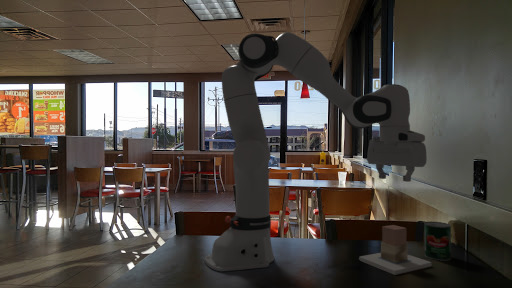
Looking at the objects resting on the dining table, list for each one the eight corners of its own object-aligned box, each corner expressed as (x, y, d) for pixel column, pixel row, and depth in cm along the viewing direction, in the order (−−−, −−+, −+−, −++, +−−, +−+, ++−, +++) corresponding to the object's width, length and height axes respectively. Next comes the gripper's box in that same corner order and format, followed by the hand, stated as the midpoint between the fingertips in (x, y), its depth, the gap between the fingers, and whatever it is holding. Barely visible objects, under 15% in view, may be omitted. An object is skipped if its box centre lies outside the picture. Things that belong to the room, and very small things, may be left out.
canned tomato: (443, 253, 117) (443, 221, 117) (456, 261, 109) (456, 226, 109) (419, 253, 117) (419, 221, 117) (431, 260, 109) (431, 226, 109)
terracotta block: (395, 246, 103) (395, 229, 103) (382, 242, 108) (382, 226, 108) (406, 244, 106) (406, 228, 106) (393, 240, 110) (393, 224, 110)
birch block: (395, 263, 103) (395, 246, 103) (380, 257, 108) (380, 242, 108) (407, 260, 105) (407, 244, 105) (393, 255, 110) (393, 239, 110)
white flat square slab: (394, 275, 97) (394, 270, 97) (359, 260, 109) (359, 256, 109) (431, 266, 104) (431, 262, 104) (394, 253, 116) (394, 249, 116)
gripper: (362, 136, 115) (362, 177, 115) (415, 135, 97) (415, 183, 96) (376, 137, 118) (376, 177, 118) (430, 135, 99) (429, 182, 99)
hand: (394, 180), depth 107 cm, fingers open, 8 cm apart
